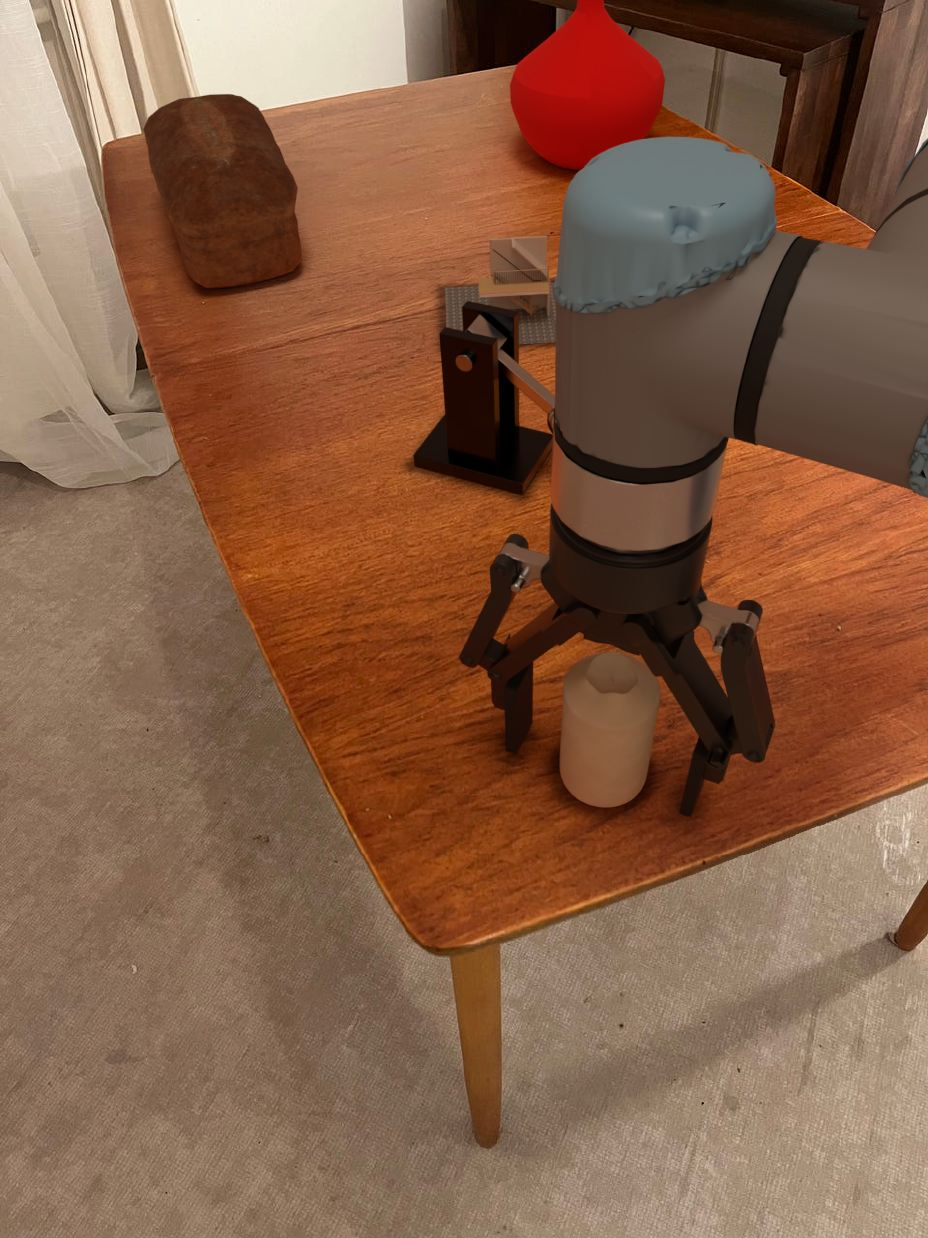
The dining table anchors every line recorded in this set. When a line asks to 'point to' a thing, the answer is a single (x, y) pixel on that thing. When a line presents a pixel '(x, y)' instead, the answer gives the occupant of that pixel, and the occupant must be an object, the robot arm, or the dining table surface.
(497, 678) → the robot arm
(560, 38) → the vase
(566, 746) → the candle
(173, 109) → the bread
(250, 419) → the dining table surface
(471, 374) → the bracket
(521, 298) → the architectural model
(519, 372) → the lever
